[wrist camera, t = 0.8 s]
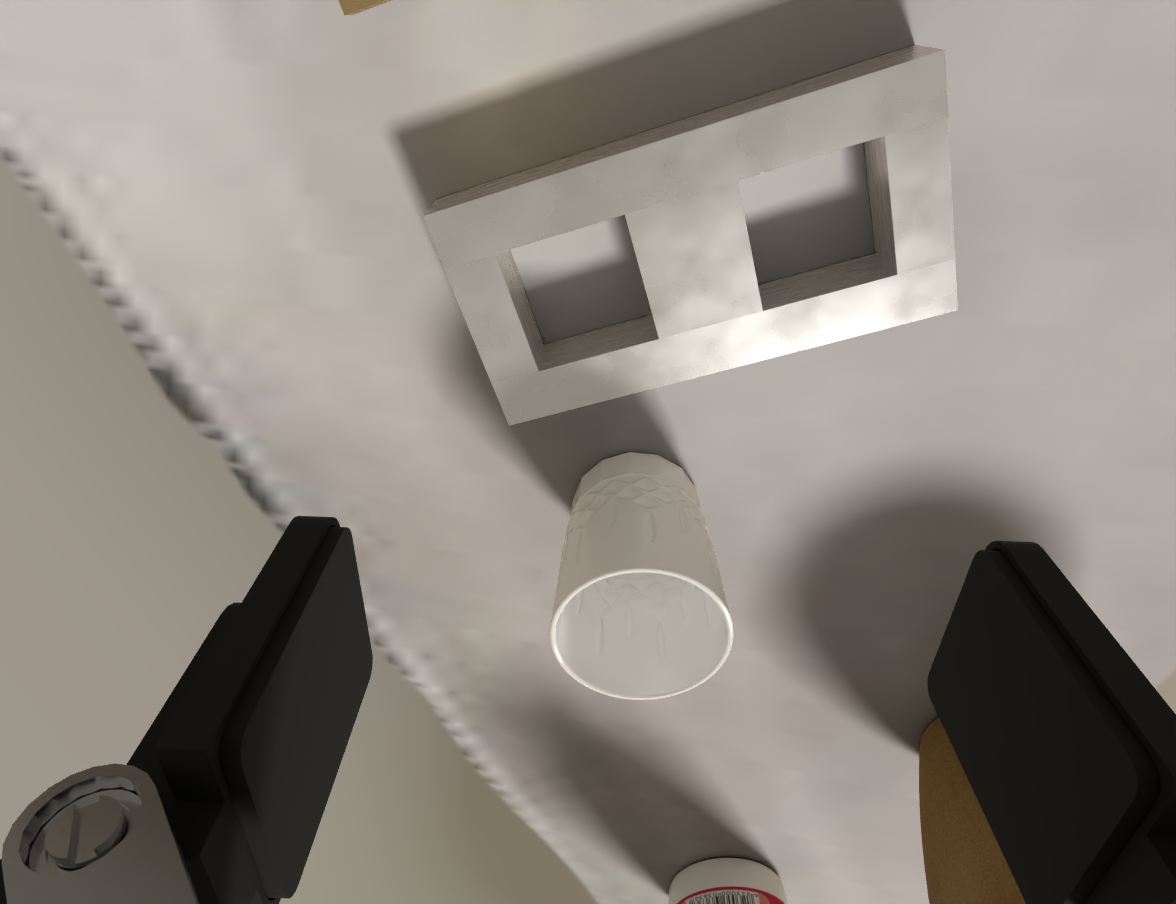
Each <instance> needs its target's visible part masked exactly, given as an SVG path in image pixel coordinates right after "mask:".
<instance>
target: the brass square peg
mask: <svg viewBox="0 0 1176 904" xmlns="http://www.w3.org/2000/svg"><path fill="white" fill-rule="evenodd" d="M388 1H391V0H339V3H340V5H341V8H342V10H343V12H344V15H354V14H357V13H359V12H362V11H365V10H367V9H370V8H373V7H375V6H378V5H380V4H383V3H386V2H388Z"/></svg>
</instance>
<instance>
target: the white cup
mask: <svg viewBox="0 0 1176 904" xmlns="http://www.w3.org/2000/svg"><path fill="white" fill-rule="evenodd" d="M733 635H734V630H733V623H732V619H731V615H730V611H729V607H728V603H727V599H726V596H725V592H724V588H723V584H722V580H721V576H720V572H719V567H718V563H717V559H716V555H715V551H714V548H713V545H712V542H711V539H710V535H709V531H708V527H707V524H706V521H705V519H704V516H703V514H702V512H701V508H700V503H699V499H698V495H697V491H696V488H695V486H694V485H693V484H692V482H691V481H690V479H689V478H688V476H687V475H686V473H685V472H684V470H683V469H682V468H681V467H679V466H677V465H676V464H674V463H672V462H670V461H668V460H666V459H665V458H663V457H661V456H659V455H654V454H644V453H634V452H628V453H624V454H621V455H617V456H614V457H610V458H607V459H604V460H601V461H600V462H599V463H598V464H597V465H596V466H594V467H593V468H592V469H591V470H590V471H588V472H587V473H586V474H585V475H584V476H583V477H582V478H581V481H580V483H579V486H578V488H577V491H576V493H575V496H574V498H573V503H572V510H571V516H570V519H569V522H568V526H567V531H566V536H565V542H564V546H563V551H562V557H561V563H560V569H559V576H558V582H557V589H556V595H555V601H554V607H553V613H552V619H551V625H550V642H551V647H552V650H553V653H554V655H555V657H556V659H557V661H558V662H559V664H560V665H561V666H562V668H563V669H564V670H565V671H566V672H567V673H568V674H569V675H570V676H571V677H573V678H574V679H575V680H576V681H578V682H579V683H581V684H582V685H584V686H586V687H588V688H590V689H592V690H594V691H597V692H599V693H602V694H605V695H609V696H612V697H617V698H623V699H633V700H649V699H659V698H665V697H669V696H673V695H677V694H680V693H683V692H686V691H688V690H690V689H692V688H694V687H696V686H698V685H700V684H701V683H703V682H705V681H706V680H707V679H709V678H710V677H711V676H712V675H713V674H714V673H716V672H717V670H718V669H719V668H720V667H721V666H722V665H723V663H724V662H725V660H726V658H727V657H728V655H729V652H730V650H731V647H732V643H733Z"/></svg>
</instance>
